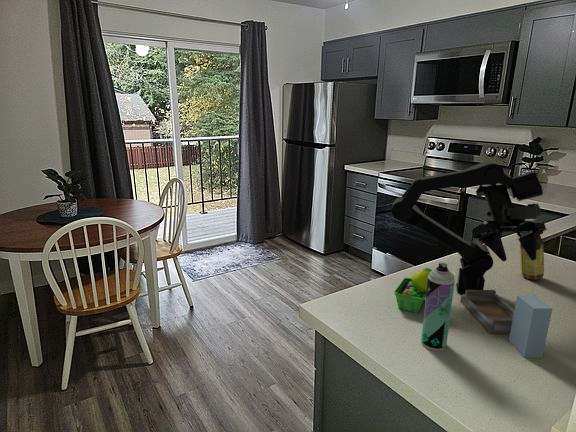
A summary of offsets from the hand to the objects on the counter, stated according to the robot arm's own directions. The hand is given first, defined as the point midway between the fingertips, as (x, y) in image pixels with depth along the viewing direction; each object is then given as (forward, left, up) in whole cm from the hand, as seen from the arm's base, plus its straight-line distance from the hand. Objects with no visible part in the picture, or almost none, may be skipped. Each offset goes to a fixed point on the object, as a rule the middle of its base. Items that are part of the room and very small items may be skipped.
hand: (519, 260), depth 98 cm
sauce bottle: (+11, +27, -15) cm, 33 cm away
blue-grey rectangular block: (0, -17, -15) cm, 22 cm away
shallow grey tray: (-5, -3, -15) cm, 16 cm away
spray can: (-19, -22, -15) cm, 33 cm away
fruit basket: (-24, -4, -15) cm, 29 cm away
